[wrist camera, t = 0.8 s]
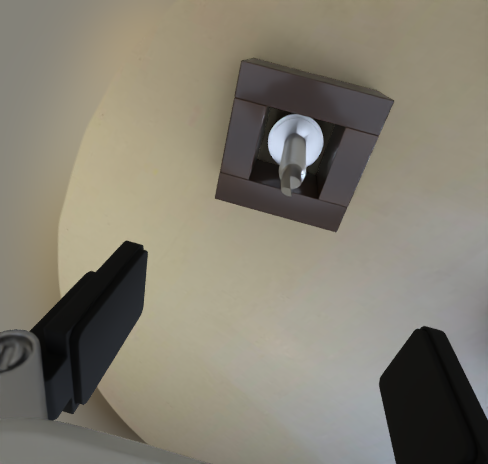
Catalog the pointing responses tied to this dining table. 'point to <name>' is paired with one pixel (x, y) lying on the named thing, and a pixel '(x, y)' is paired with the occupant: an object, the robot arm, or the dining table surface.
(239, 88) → the holder
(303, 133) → the screw
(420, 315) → the dining table surface
